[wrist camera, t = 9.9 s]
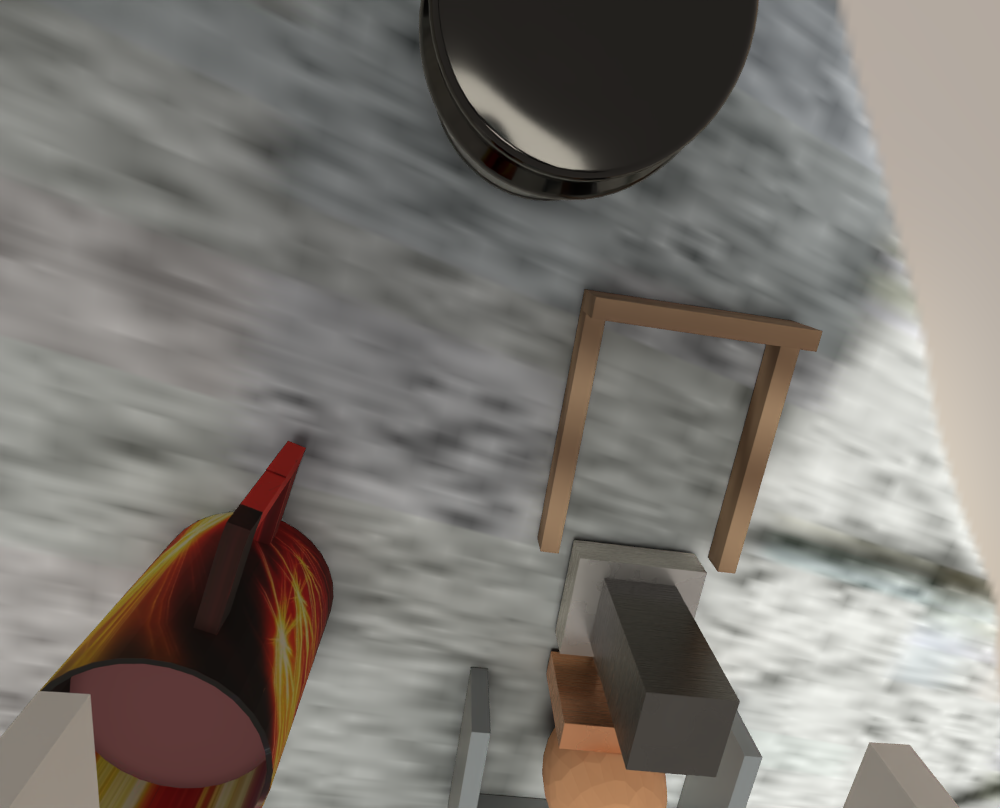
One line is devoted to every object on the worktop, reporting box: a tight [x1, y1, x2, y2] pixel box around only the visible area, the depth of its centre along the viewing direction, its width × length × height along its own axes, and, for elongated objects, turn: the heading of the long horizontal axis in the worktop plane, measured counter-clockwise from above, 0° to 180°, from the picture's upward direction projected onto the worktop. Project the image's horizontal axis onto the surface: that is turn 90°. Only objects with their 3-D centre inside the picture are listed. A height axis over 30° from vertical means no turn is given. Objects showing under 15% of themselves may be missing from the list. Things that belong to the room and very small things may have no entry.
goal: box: [448, 667, 762, 808], centre depth 39 cm, size 10×16×5 cm, turn 81°
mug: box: [40, 441, 333, 808], centre depth 30 cm, size 10×14×12 cm
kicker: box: [546, 540, 740, 777], centre depth 33 cm, size 9×7×11 cm
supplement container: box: [419, 0, 759, 201], centre depth 24 cm, size 10×10×12 cm
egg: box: [542, 728, 667, 808], centre depth 36 cm, size 7×7×9 cm
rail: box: [538, 289, 822, 573], centre depth 34 cm, size 14×11×3 cm
